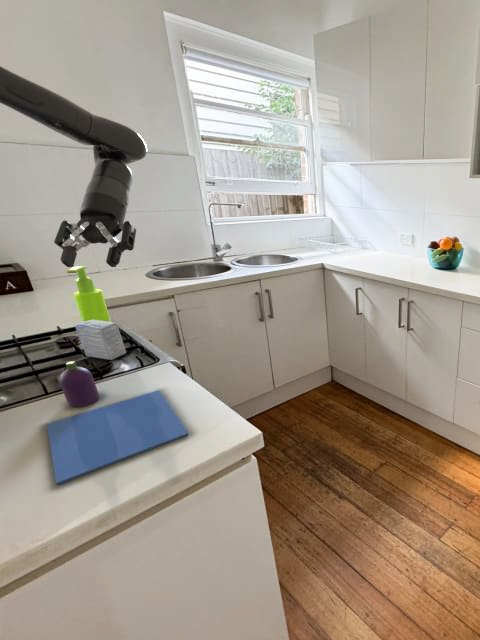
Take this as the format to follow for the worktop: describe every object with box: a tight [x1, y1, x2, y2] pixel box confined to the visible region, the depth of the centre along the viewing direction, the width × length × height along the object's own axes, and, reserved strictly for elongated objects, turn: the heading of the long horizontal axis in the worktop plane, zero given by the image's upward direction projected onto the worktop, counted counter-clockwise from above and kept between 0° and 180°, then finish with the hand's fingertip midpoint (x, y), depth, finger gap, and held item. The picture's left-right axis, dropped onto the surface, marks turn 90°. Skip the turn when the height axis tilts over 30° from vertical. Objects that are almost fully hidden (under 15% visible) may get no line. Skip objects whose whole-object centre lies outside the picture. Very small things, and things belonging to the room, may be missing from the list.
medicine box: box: [75, 320, 127, 361], centre depth 95 cm, size 8×4×9 cm, turn 77°
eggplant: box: [58, 360, 101, 408], centre depth 76 cm, size 5×5×9 cm
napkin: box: [46, 390, 189, 486], centre depth 69 cm, size 20×18×1 cm
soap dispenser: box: [66, 265, 112, 323], centre depth 103 cm, size 6×7×20 cm
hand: (89, 265), depth 80 cm, fingers open, 8 cm apart
